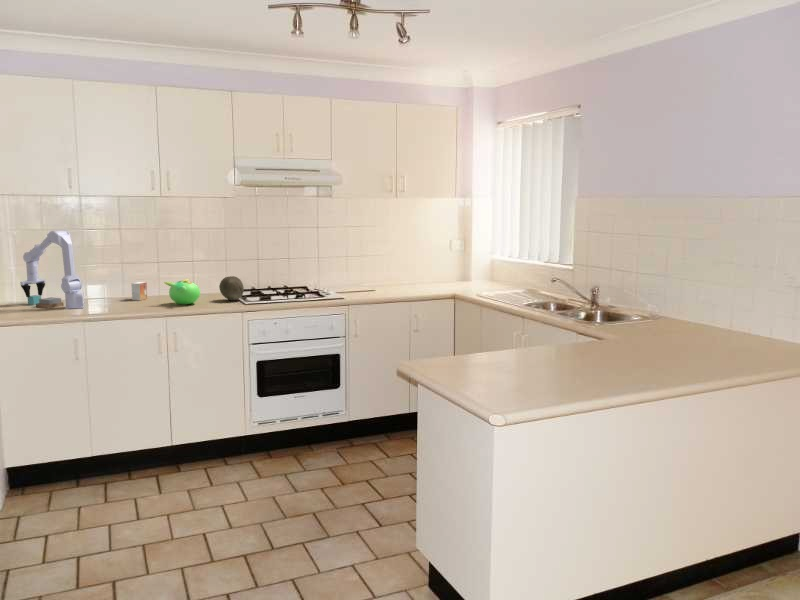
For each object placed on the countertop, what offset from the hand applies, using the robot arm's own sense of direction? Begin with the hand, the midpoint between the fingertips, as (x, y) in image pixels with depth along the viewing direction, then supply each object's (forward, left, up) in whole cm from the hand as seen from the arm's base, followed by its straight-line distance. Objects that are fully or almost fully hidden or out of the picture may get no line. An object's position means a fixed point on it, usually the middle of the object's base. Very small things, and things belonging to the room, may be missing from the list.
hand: (34, 296), depth 394 cm
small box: (-57, -2, -5) cm, 57 cm away
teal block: (0, 0, -5) cm, 5 cm away
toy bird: (-82, +23, -5) cm, 85 cm away
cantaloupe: (-110, +17, -5) cm, 111 cm away
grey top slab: (-9, +9, -3) cm, 13 cm away
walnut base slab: (-9, +9, -6) cm, 14 cm away
